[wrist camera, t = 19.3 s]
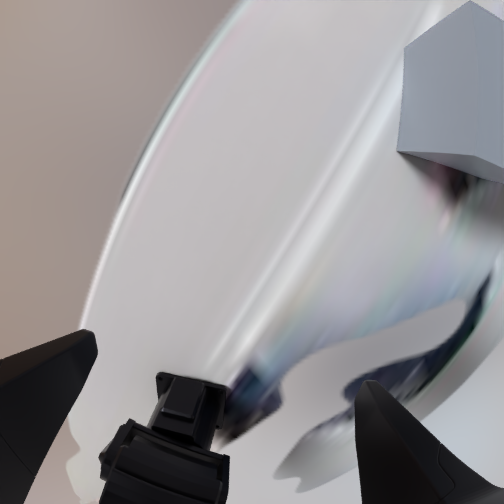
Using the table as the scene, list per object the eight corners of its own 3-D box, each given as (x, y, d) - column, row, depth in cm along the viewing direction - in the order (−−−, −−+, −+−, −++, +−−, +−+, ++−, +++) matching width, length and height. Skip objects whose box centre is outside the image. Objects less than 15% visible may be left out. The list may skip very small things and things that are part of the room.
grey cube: (480, 178, 16) (563, 201, 8) (396, 150, 17) (474, 155, 8) (487, 85, 14) (564, 72, 5) (404, 48, 14) (470, 0, 6)
